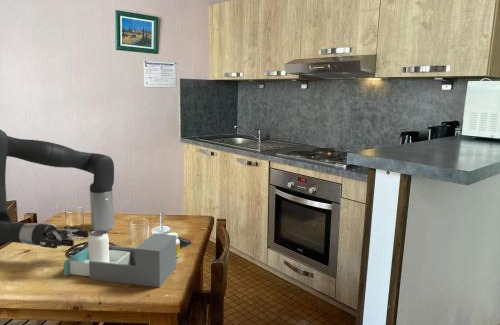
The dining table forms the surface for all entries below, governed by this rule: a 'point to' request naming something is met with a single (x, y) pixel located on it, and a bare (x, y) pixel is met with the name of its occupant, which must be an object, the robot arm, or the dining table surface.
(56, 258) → the dining table surface
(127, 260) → the tray
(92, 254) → the can
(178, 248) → the supplement bottle
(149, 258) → the dock
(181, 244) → the phone
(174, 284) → the dining table surface
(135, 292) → the dining table surface
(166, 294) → the dining table surface
